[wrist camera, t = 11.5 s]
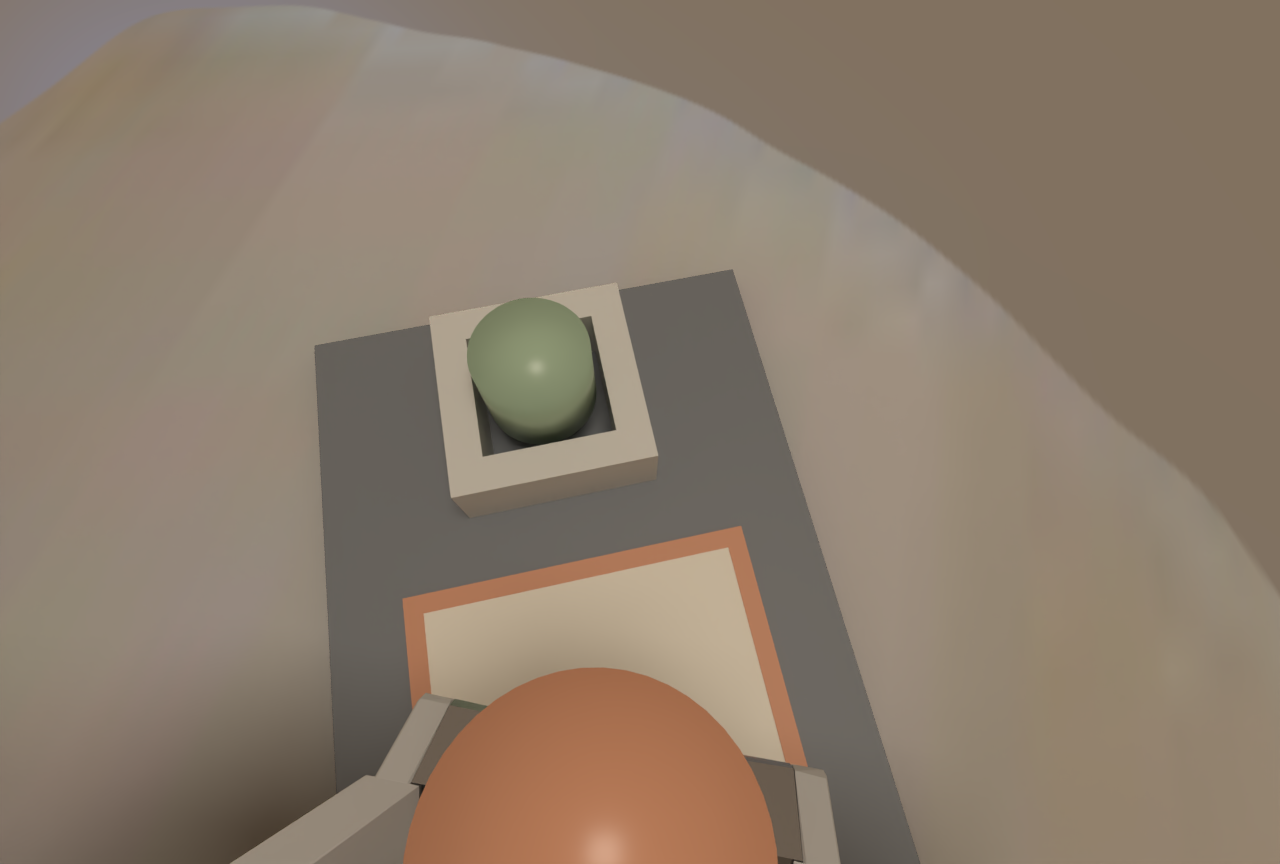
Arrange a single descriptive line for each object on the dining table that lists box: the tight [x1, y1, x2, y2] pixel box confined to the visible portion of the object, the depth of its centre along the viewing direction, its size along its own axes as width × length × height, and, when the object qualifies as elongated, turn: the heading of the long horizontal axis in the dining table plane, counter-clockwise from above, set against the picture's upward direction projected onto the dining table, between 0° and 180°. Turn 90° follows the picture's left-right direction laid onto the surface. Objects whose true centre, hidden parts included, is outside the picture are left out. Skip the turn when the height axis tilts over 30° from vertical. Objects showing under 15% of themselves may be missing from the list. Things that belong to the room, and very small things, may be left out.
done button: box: [467, 298, 596, 445], centre depth 21 cm, size 4×4×3 cm
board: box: [315, 269, 920, 864], centre depth 21 cm, size 22×16×3 cm
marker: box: [403, 667, 778, 864], centre depth 11 cm, size 4×4×11 cm
